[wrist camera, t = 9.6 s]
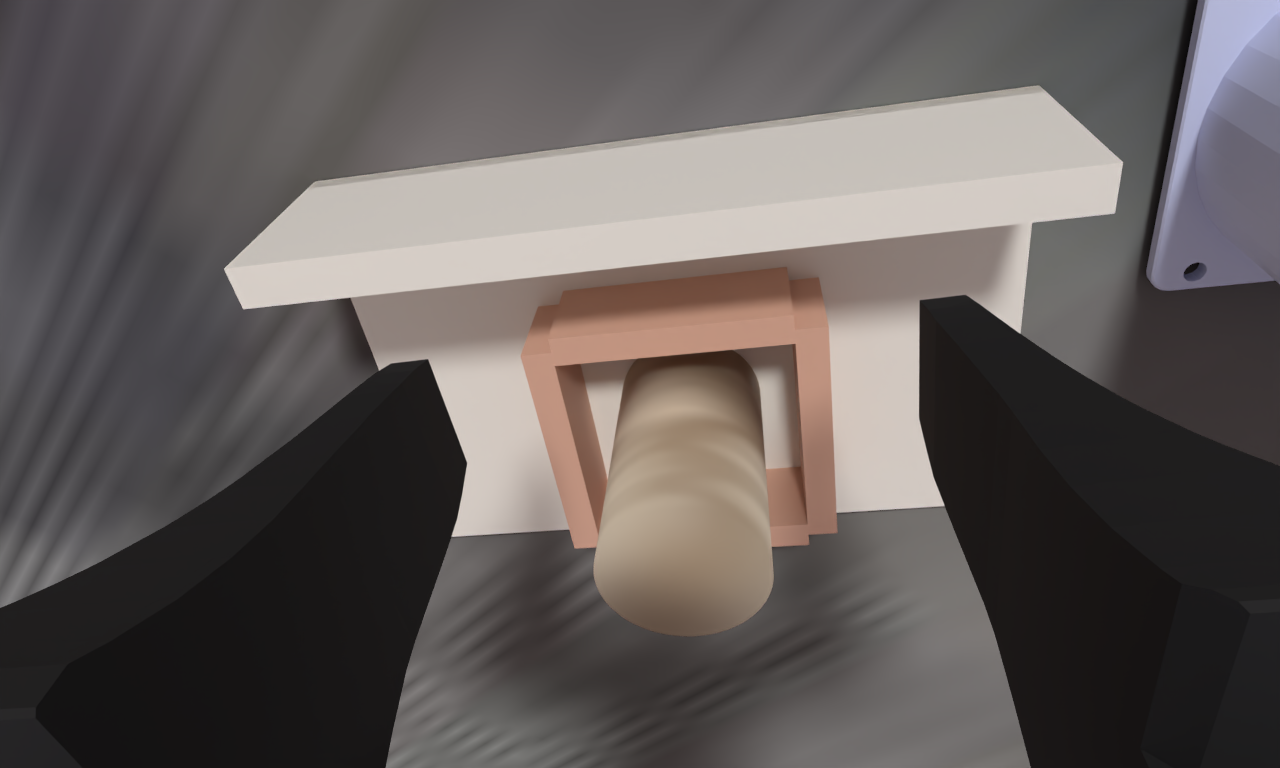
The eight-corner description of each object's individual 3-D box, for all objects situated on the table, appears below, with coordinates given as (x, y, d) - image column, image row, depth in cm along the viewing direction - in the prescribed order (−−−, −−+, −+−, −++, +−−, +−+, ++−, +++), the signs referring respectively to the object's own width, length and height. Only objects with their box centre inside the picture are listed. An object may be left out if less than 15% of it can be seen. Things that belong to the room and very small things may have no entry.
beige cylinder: (782, 363, 24) (803, 541, 18) (729, 466, 26) (732, 654, 20) (648, 319, 23) (624, 487, 18) (605, 427, 26) (572, 608, 20)
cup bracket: (1038, 85, 20) (1123, 162, 16) (998, 491, 27) (1049, 619, 22) (314, 181, 22) (224, 268, 18) (449, 526, 29) (404, 646, 25)
